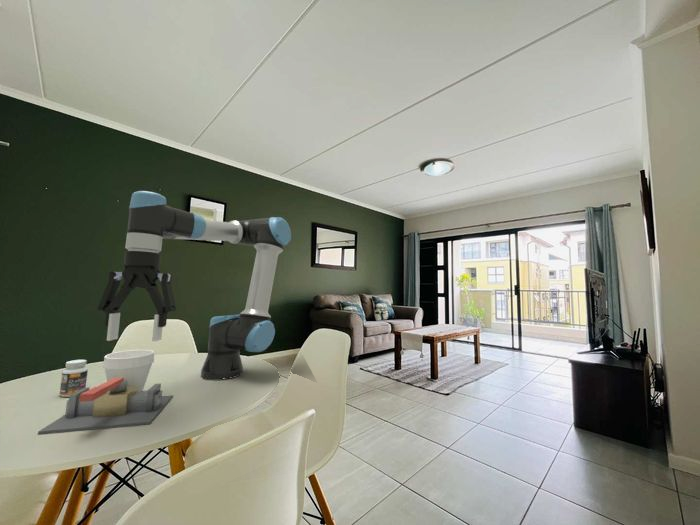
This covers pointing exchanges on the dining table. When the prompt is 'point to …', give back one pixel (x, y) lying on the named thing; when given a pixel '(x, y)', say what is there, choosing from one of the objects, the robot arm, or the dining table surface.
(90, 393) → the lever
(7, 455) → the dining table surface
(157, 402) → the valve
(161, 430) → the dining table surface
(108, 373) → the cup
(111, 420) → the mat
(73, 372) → the pill bottle
